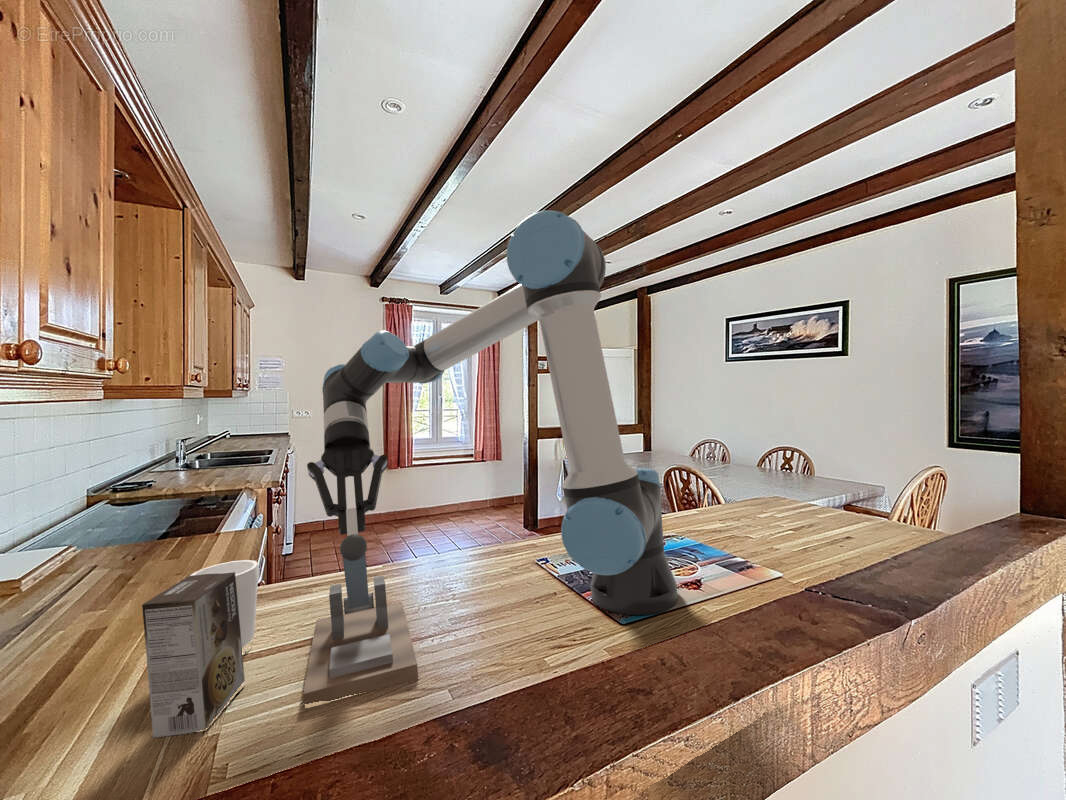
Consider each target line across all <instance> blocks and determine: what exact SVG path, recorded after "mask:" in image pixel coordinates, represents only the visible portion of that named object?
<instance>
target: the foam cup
mask: <svg viewBox="0 0 1066 800" xmlns="http://www.w3.org/2000/svg"><path fill="white" fill-rule="evenodd" d="M259 568H260V566H259V563H258V562H257V561H256V560H252V559H251V560H250V559H243V560H232V561H228V562H222V563H221V562H220V563H218V564H214V565H211V566H207V567H204V568H201V569H199V570H197V571H195V572H193V573H191V574H190V575H189V576H193V575H202V574H216V573H219V574H223V573H232V572H235V577H236V588H237V599H238V611H239V621H240V632H241V645H242V647H244V646H245V645H246V644H247V643H248V642H250V641H251V640H252V638H253V637H254V638H255V629H256V628H255V627H256V625H255V624H256V613H257V601H258V600H257V598H258V597H257V596H258V584H259V580H260V569H259Z"/></svg>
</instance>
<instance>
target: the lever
mask: <svg viewBox="0 0 1066 800" xmlns="http://www.w3.org/2000/svg"><path fill="white" fill-rule="evenodd" d="M367 550H368V542H367V540H366V538H365V537H363V536H362V535H360V534H358V535H357V534H353V535H349V536H346V537H345V538H343V540H342V541H341V542H340V546H339V552H340V555H341V557H342V562H343V563H342V565H343V570H344V571H343V572H344V579H345V586H346V594H347V595H346V596H347V597H343V614H349V613H354V612H359V611H363V610H368V609H373V608H374V607H375V601H374V600H375V599H374V593H373V592H374V591H373V592H369V583H368V571H367V556H366V554H367V553H366V552H367Z"/></svg>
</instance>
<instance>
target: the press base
mask: <svg viewBox="0 0 1066 800" xmlns="http://www.w3.org/2000/svg"><path fill="white" fill-rule="evenodd" d="M373 585H374V586H373V588H374V598H375V599H374V600H375V601H374V604H375V606H374V608H373V609H368V610H363V611H359V612H354V613H349V614H345V613H344V601H343V591H342V583H337V584H333V585H330V587H329V593H328V596H329V610H330V616H329V617H324V618H323V617H322V618H319V619H316V620H315V624H314V625H315V626H314V629H313V630H314V631H313V635H312V636H313V637H312V641H311V642H312V643H311V648H310V652H309V659H308V664H307V665H308V666H307V671H306V676H305V682H304V687H303V695H302V697H303V705H304V704H309V703H313V702H319V701H331V700H335V699H339V698H342V697H345V696H349V695H354V694H359V693H364V692H367V693H370V692H374V691H377V690H383V689H386V688H390V687H392V686H396V685H400V684H404V683H407V682H410V681H411V682H412V681H414V680H415V681H416V680H418V679H419V670H418V661H417V658H416V654H415V649H414V645H413V642H412V638H411V637H412V636H411V634H410V630H409V625H408V622H407V621H408V620H407V617H406V612H405V609H404V606H403V605H404V604H403V602H402V601H399V602H393V603H389V604H388V602H387V593H386V592H387V591H386V581H385V576H384V575H378V576H373ZM364 694H365V693H364Z"/></svg>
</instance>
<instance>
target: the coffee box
mask: <svg viewBox="0 0 1066 800" xmlns="http://www.w3.org/2000/svg"><path fill="white" fill-rule="evenodd" d="M141 609H142V618H143V630H144V631H143V632H144V633H143V634H144V643H145V656H146V664H147V665H146V666H147V667H146V668H147V678H148V679H147V680H148V693H149V704H150V714H151V717H150V718H151V725H152V726H151V728H152V737H153V738H162V737H171V736H178V735H188V734H187V733H189V734H192V733H191V732H196V731H200V730H205V729H206V728H207V727H208V726H209V724H210V723H211V722H212V721H213V719H214V718H215V717H216V716H217V715H218V714H219V713H220V711H221V710H222V709H223V708H224V706H225V705H226V704H227V702H228V701H229V700H230V698H231V697H232V696H233V694H234V693H235V692H236V691H237V689H238V688H239V687H240V686H241V684H242V683H243V682H244V681H245V682H246V679H245V668H244V658H243V657H244V655H242V645H241V632H240V621H239V611H238V599H237V588H236V577H235V572H232V573H223V574H219V573H216V574H202V575H193V576H190V575H189V576H186V577H185V578H183V579H182V580H180V581H178V582H176V583H174V585H172V586H170V587H169V588H167V589H165V590H164V591H161V593H159V594H156V596H153V597H152V598H151V599H149V600H148V601H146V602H144V603H142V605H141Z"/></svg>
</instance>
